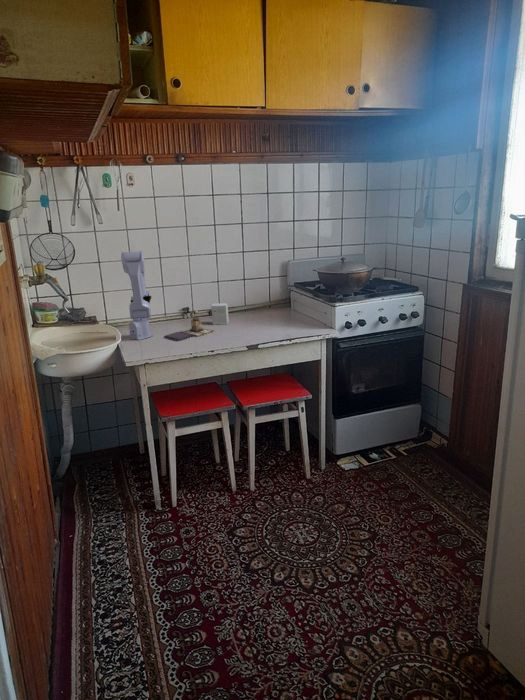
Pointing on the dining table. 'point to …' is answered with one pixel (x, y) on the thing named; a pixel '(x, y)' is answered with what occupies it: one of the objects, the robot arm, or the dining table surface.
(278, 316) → the dining table surface
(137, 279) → the robot arm
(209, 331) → the board
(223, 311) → the small box
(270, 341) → the dining table surface
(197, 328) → the stamp
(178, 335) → the ink pad
